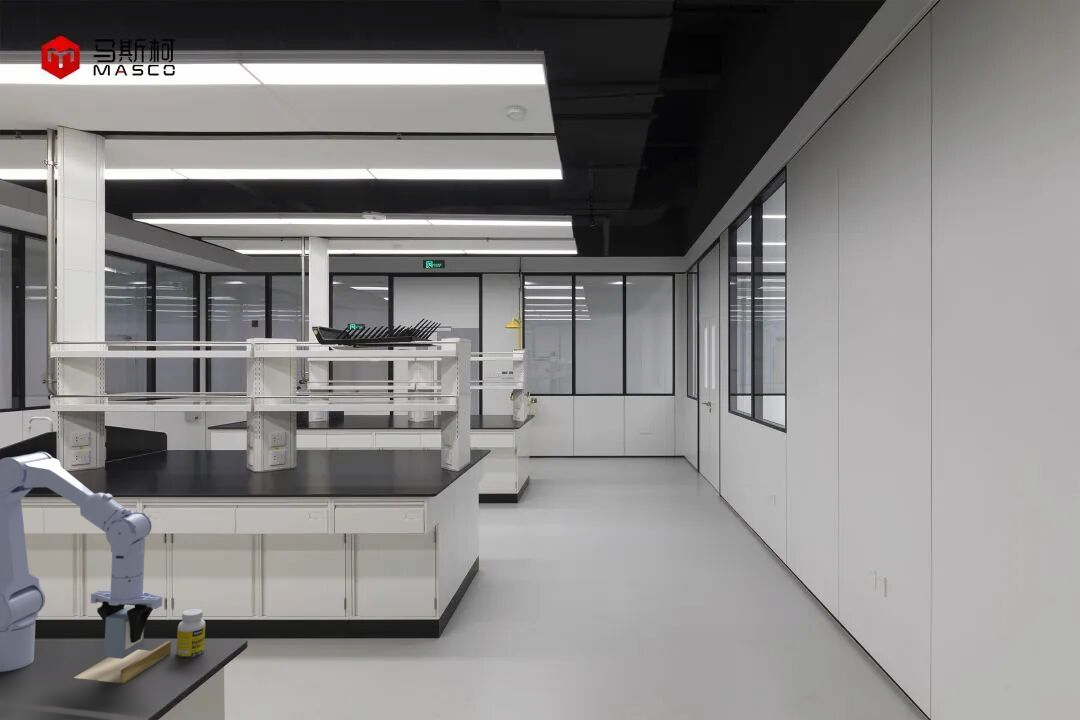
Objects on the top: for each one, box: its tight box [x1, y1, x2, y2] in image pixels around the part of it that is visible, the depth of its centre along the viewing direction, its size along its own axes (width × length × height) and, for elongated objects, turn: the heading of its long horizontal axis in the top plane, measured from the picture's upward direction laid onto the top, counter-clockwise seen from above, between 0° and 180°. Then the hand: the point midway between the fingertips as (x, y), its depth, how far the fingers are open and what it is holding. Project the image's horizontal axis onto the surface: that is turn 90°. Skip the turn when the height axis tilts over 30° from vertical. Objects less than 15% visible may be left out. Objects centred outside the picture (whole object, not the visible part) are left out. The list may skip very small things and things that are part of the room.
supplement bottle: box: [175, 608, 206, 659], centre depth 148 cm, size 5×5×10 cm
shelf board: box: [73, 640, 172, 684], centre depth 141 cm, size 11×14×3 cm
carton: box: [103, 606, 145, 659], centre depth 139 cm, size 4×6×8 cm
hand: (125, 639), depth 139 cm, fingers closed on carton, 4 cm apart
